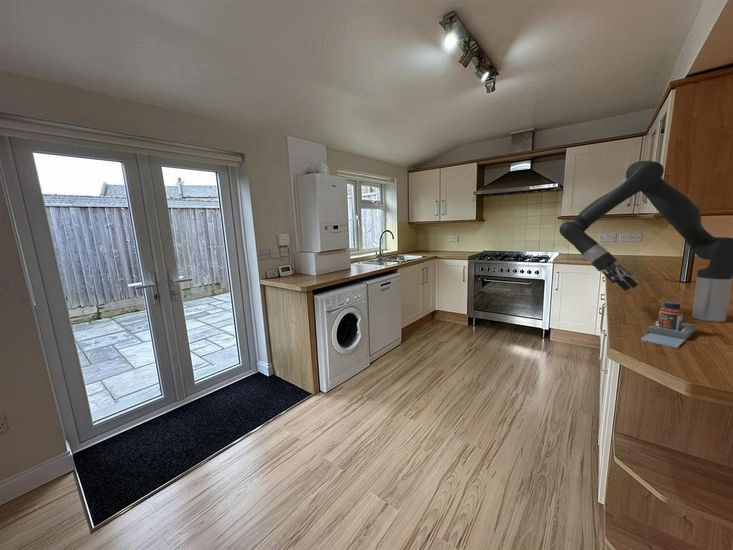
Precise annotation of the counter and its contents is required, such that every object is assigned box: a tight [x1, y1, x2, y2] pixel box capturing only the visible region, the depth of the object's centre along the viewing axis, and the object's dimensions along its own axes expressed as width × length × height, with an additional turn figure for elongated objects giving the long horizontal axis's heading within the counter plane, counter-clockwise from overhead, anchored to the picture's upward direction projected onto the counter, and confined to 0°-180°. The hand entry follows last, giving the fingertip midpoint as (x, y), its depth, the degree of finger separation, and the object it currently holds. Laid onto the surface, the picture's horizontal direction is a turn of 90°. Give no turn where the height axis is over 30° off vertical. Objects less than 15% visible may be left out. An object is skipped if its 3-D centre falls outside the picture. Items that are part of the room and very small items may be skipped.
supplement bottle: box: [658, 300, 684, 331], centre depth 108 cm, size 6×6×11 cm
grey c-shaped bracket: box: [646, 319, 697, 341], centre depth 110 cm, size 19×10×3 cm, turn 123°
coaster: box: [640, 333, 686, 349], centre depth 101 cm, size 9×9×1 cm
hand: (632, 288), depth 116 cm, fingers open, 8 cm apart
